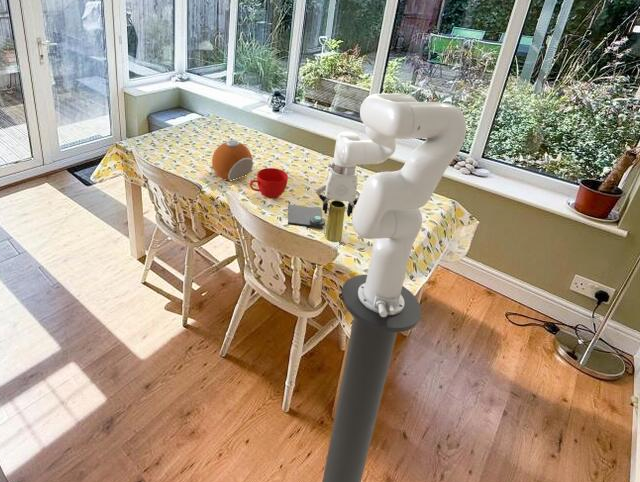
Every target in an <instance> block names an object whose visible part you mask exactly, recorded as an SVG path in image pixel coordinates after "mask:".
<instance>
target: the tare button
mask: <svg viewBox="0 0 640 482" xmlns="http://www.w3.org/2000/svg"><path fill="white" fill-rule="evenodd" d="M322 218H323V217H322ZM322 218H321V217H320V216H315V218H314V221H315V222H321V219H322Z"/></svg>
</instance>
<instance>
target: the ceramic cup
mask: <svg viewBox="0 0 640 482" xmlns="http://www.w3.org/2000/svg"><path fill="white" fill-rule="evenodd" d="M288 179H289V176H288V173H287V172H286V171H284V170H282V169H280V168H274V167H267V168H266V167H265V168H262V169H259V171H257V173H256V179H253V180H251V181H250V182H249V188H250V189H251V190H252V191H255V192H260V193H261V195H262V196H264V198H266V199H278V198H279V197H281V196H282V195H283V194H284V192H285V190H286V188H287V185H288ZM254 183H257V187H258V188H254V187H253V184H254Z"/></svg>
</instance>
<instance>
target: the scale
mask: <svg viewBox="0 0 640 482" xmlns="http://www.w3.org/2000/svg"><path fill="white" fill-rule="evenodd" d="M322 211H323V210H322V208H321V207H313V206H305V205H297V204H288V216H287V217H288V218H287V225H288V226H294V227H295V226H296V227H303V228H311V229H319V230H324V226H326V219H325V218H323V212H322ZM315 216H320V217H321V218H322V219H321V222H315V221H314V218H315Z"/></svg>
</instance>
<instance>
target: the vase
mask: <svg viewBox="0 0 640 482" xmlns="http://www.w3.org/2000/svg"><path fill="white" fill-rule="evenodd" d="M346 207H347V206H346V203H345V201H339V200H331V201H330V202H329V208H328V210H329V211H328V213H327V221H326V225H325V226H326V227H325V233H324V238H325V240H327V241H328V242H331V243H340V242H341V241H342V240H343V229H344V228H343V227H344V221H345V213H346V212H345V211H346Z"/></svg>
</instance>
